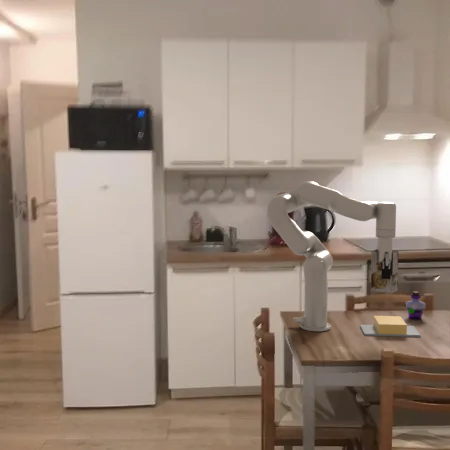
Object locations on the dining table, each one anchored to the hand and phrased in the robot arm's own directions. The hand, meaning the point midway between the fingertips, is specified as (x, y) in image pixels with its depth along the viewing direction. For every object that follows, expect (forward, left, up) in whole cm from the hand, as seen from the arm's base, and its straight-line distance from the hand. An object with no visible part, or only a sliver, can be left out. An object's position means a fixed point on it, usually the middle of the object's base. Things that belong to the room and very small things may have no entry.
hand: (384, 276), depth 242 cm
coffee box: (0, 0, -6) cm, 6 cm away
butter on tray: (+4, +6, -24) cm, 25 cm away
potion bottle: (+19, +28, -24) cm, 42 cm away
